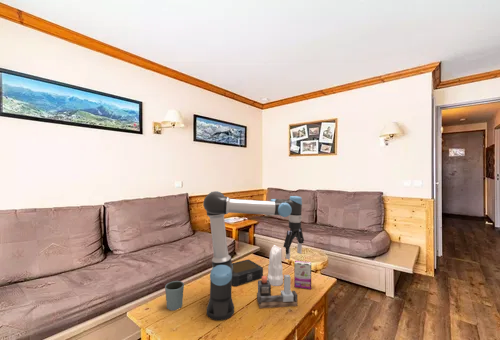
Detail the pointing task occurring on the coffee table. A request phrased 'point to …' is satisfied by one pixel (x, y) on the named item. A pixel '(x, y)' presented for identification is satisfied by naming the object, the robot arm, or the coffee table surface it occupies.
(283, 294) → the carriage
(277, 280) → the decorative vase
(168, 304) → the grey cup
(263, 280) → the button
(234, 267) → the cash box
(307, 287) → the candy bar box
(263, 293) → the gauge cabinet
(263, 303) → the slide rail
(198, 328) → the coffee table surface
